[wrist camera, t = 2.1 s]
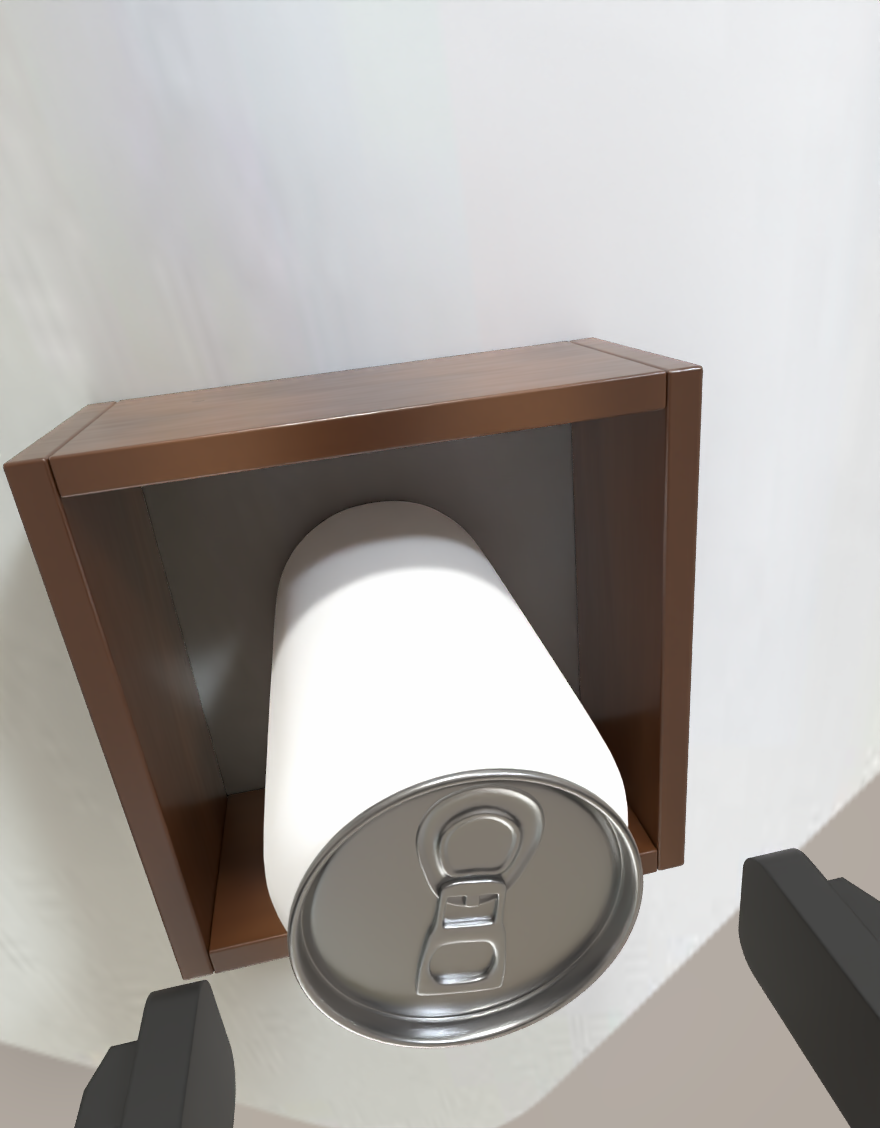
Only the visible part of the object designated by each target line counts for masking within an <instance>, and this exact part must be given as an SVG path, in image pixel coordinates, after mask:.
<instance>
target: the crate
mask: <svg viewBox="0 0 880 1128" xmlns="http://www.w3.org/2000/svg"><path fill="white" fill-rule="evenodd" d="M702 378H703V369H702V366H700V365H696V364H692V363H688V362H685V361H681V360H677V359H673V358H669V357H665V356H662V355H658V354H654V353H650V352H646V351H642V350H639V349H635V348H631V347H627V346H623V345H619V344H616V343H612V342H608V341H604V340H600V339H597V338H587V339H579V340H572V341H570V342H567V341H563V342H556V343H548V344H541V345H533V346H526V347H518V348H510V349H503V350H495V351H488V352H480V353H473V354H465V355H458V356H450V357H443V358H435V359H428V360H420V361H413V362H405V363H398V364H390V365H383V366H375V367H368V368H360V369H352V370H345V371H337V372H330V373H322V374H315V375H307V376H300V377H292V378H285V379H277V380H270V381H262V382H255V383H247V384H240V385H232V386H225V387H217V388H210V389H202V390H194V391H187V392H179V393H172V394H164V395H157V396H149V397H142V398H134V399H127V400H120V401H119V402H115V401H112V402H105V403H97V404H90V405H87V406H85V407H84V408H83V409H81V410H80V411H78V412H77V413H75V414H74V415H73V416H71V417H70V418H68V419H67V420H66V421H64V422H63V423H61V424H60V425H58V426H57V427H56V428H54V429H53V430H51V431H50V432H49V433H47V434H46V435H44V436H43V437H41V438H40V439H39V440H37V441H36V442H34V443H33V444H32V445H30V446H29V447H27V448H26V449H24V450H23V451H22V452H20V453H19V454H17V455H16V456H15V457H13V458H12V459H10V460H9V461H7V462H6V463H5V464H4V465H3V469H4V471H5V474H6V477H7V480H8V483H9V486H10V489H11V491H12V494H13V497H14V500H15V503H16V506H17V508H18V511H19V514H20V517H21V520H22V523H23V525H24V528H25V531H26V534H27V537H28V540H29V543H30V545H31V548H32V551H33V554H34V557H35V560H36V562H37V565H38V568H39V571H40V574H41V577H42V580H43V582H44V585H45V588H46V591H47V594H48V597H49V599H50V602H51V605H52V608H53V611H54V614H55V617H56V619H57V622H58V625H59V628H60V631H61V634H62V636H63V639H64V642H65V645H66V648H67V651H68V654H69V656H70V659H71V662H72V665H73V668H74V671H75V673H76V676H77V679H78V682H79V685H80V688H81V691H82V693H83V696H84V699H85V702H86V705H87V708H88V710H89V713H90V716H91V719H92V722H93V725H94V727H95V730H96V733H97V736H98V739H99V742H100V745H101V747H102V750H103V753H104V756H105V759H106V762H107V764H108V767H109V770H110V773H111V776H112V779H113V782H114V784H115V787H116V790H117V793H118V796H119V799H120V801H121V804H122V807H123V810H124V813H125V816H126V819H127V821H128V824H129V827H130V830H131V833H132V836H133V838H134V841H135V844H136V847H137V850H138V853H139V856H140V858H141V861H142V864H143V867H144V870H145V873H146V875H147V878H148V881H149V884H150V887H151V890H152V893H153V895H154V898H155V901H156V904H157V907H158V910H159V912H160V915H161V918H162V921H163V924H164V927H165V929H166V932H167V935H168V938H169V941H170V944H171V947H172V949H173V952H174V955H175V958H176V961H177V964H178V966H179V969H180V972H181V975H182V978H183V980H189V979H193V978H198V977H202V976H206V975H211V974H213V972H214V971H215V973H221V972H225V971H229V970H234V969H238V968H242V967H247V966H251V965H255V964H260V963H264V962H268V961H273V960H277V959H281V958H286V957H289V952H288V943H287V931H286V929H285V928H284V926H283V924H282V922H281V921H280V919H279V917H278V915H277V912H276V910H275V908H274V906H273V903H272V900H271V898H270V895H269V891H268V887H267V882H266V876H265V866H264V810H265V788H263V789H258V790H253V791H248V792H243V793H238V794H233V795H229V796H228V798H227V795H226V791H225V787H224V784H223V780H222V777H221V773H220V769H219V766H218V762H217V759H216V755H215V751H214V748H213V744H212V741H211V737H210V733H209V730H208V726H207V722H206V719H205V715H204V712H203V708H202V704H201V701H200V697H199V694H198V690H197V686H196V683H195V679H194V676H193V672H192V668H191V665H190V661H189V658H188V654H187V650H186V647H185V643H184V639H183V636H182V632H181V629H180V625H179V621H178V618H177V614H176V611H175V607H174V603H173V600H172V596H171V593H170V589H169V585H168V582H167V578H166V575H165V571H164V567H163V564H162V560H161V557H160V553H159V549H158V546H157V542H156V538H155V535H154V531H153V528H152V524H151V520H150V517H149V513H148V510H147V506H146V502H145V499H144V495H143V492H142V488H141V487H142V486H148V485H155V484H162V483H169V482H175V481H182V480H189V479H196V478H203V477H209V476H216V475H223V474H230V473H236V472H243V471H250V470H257V469H264V468H270V467H277V466H284V465H291V464H297V463H304V462H311V461H318V460H324V459H331V458H338V457H345V456H352V455H358V454H365V453H372V452H379V451H385V450H392V449H399V448H406V447H412V446H419V445H426V444H433V443H440V442H446V441H453V440H460V439H467V438H473V437H480V436H487V435H494V434H501V433H507V432H514V431H521V430H528V429H534V428H541V427H548V426H555V425H561V424H568V423H571V428H572V459H573V490H574V521H575V552H576V583H577V614H578V645H579V676H580V703H581V704H582V706H583V708H584V709H585V711H586V712H587V714H588V716H589V717H590V719H591V720H592V722H593V723H594V725H595V727H596V728H597V730H598V732H599V734H600V735H601V737H602V739H603V740H604V742H605V744H606V746H607V747H608V749H609V751H610V753H611V755H612V757H613V759H614V761H615V763H616V766H617V768H618V770H619V772H620V775H621V778H622V781H623V785H624V789H625V794H626V801H627V810H628V829H629V830H630V832H631V834H632V836H633V838H634V840H635V842H636V845H637V847H638V850H639V854H640V858H641V862H642V869H643V875H644V874H649V873H653V872H656V871H657V869H658V870H664V869H668V868H673V867H677V866H681V865H683V864H684V847H685V821H686V795H687V769H688V743H689V717H690V691H691V665H692V639H693V613H694V587H695V561H696V535H697V508H698V482H699V456H700V430H701V404H702Z"/></svg>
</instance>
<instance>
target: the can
mask: <svg viewBox="0 0 880 1128" xmlns="http://www.w3.org/2000/svg"><path fill="white" fill-rule="evenodd" d="M264 866H265V876H266V882H267V887H268V891H269V895H270V898H271V900H272V903H273V906H274V908H275V910H276V912H277V915H278V917H279V919H280V921H281V922H282V924H283V926H284V928H285V929H286V931H287V943H288V952H289V958H290V962H291V966H292V969H293V972H294V974H295V977H296V979H297V981H298V983H299V985H300V987H301V988H302V990H303V991H304V993H305V994H306V996H307V997H308V998H309V1000H310V1001H311V1002H312V1003H313V1004H314V1005H315V1006H316V1007H317V1008H318V1009H319V1010H320V1011H321V1012H322V1013H323V1014H324V1015H325V1016H327V1017H328V1018H329V1019H331V1020H332V1021H333V1022H335V1023H336V1024H338V1025H340V1026H341V1027H343V1028H345V1029H347V1030H349V1031H351V1032H353V1033H355V1034H357V1035H360V1036H362V1037H365V1038H368V1039H371V1040H374V1041H378V1042H382V1043H386V1044H391V1045H397V1046H404V1047H414V1048H443V1047H454V1046H462V1045H468V1044H473V1043H478V1042H483V1041H487V1040H491V1039H494V1038H498V1037H501V1036H504V1035H507V1034H510V1033H512V1032H515V1031H518V1030H520V1029H523V1028H525V1027H527V1026H529V1025H532V1024H534V1023H536V1022H538V1021H540V1020H542V1019H544V1018H546V1017H547V1016H549V1015H551V1014H553V1013H554V1012H556V1011H558V1010H559V1009H561V1008H562V1007H564V1006H565V1005H567V1004H568V1003H570V1002H571V1001H572V1000H574V999H575V998H576V997H578V996H579V995H580V994H581V993H583V992H584V991H585V990H586V989H587V988H588V987H590V986H591V985H592V984H593V983H594V982H595V981H596V980H597V979H598V978H599V977H600V976H601V975H602V974H603V973H604V971H605V970H606V969H607V968H608V967H609V966H610V964H611V963H612V962H613V961H614V959H615V958H616V957H617V955H618V954H619V952H620V951H621V949H622V948H623V946H624V944H625V943H626V941H627V939H628V937H629V935H630V933H631V931H632V929H633V926H634V924H635V922H636V919H637V916H638V912H639V909H640V905H641V899H642V892H643V869H642V862H641V858H640V854H639V850H638V847H637V845H636V842H635V840H634V838H633V836H632V834H631V832H630V830H629V829H628V810H627V801H626V794H625V789H624V785H623V781H622V778H621V775H620V772H619V770H618V768H617V766H616V763H615V761H614V759H613V757H612V755H611V753H610V751H609V749H608V747H607V746H606V744H605V742H604V740H603V739H602V737H601V735H600V734H599V732H598V730H597V728H596V727H595V725H594V723H593V722H592V720H591V719H590V717H589V716H588V714H587V712H586V711H585V709H584V708H583V706H582V704H581V703H580V701H579V700H578V698H577V696H576V695H575V693H574V692H573V690H572V689H571V687H570V685H569V684H568V682H567V681H566V679H565V678H564V676H563V675H562V673H561V671H560V670H559V668H558V667H557V665H556V664H555V662H554V660H553V659H552V657H551V656H550V654H549V653H548V651H547V650H546V648H545V646H544V645H543V643H542V642H541V640H540V639H539V637H538V636H537V634H536V633H535V631H534V629H533V628H532V626H531V625H530V623H529V622H528V620H527V619H526V617H525V616H524V614H523V612H522V611H521V609H520V608H519V606H518V605H517V603H516V602H515V600H514V599H513V597H512V596H511V594H510V592H509V591H508V589H507V588H506V586H505V585H504V583H503V582H502V580H501V579H500V577H499V576H498V574H497V573H496V571H495V570H494V568H493V567H492V565H491V564H490V562H489V561H488V559H487V558H486V556H485V555H484V553H483V552H482V550H481V549H480V548H479V546H478V545H477V543H476V542H475V541H474V540H473V538H472V537H471V536H470V535H469V534H468V533H467V532H466V531H465V530H464V529H463V528H462V527H461V526H460V525H459V524H457V523H456V522H455V521H453V520H452V519H451V518H449V517H447V516H446V515H444V514H442V513H440V512H439V511H437V510H435V509H433V508H430V507H428V506H425V505H422V504H418V503H412V502H404V501H385V502H376V503H369V504H364V505H360V506H356V507H352V508H349V509H346V510H344V511H341V512H339V513H337V514H335V515H333V516H331V517H330V518H328V519H326V520H325V521H323V522H322V523H320V524H319V525H318V526H316V527H315V528H314V529H313V530H312V531H311V532H310V533H308V534H307V535H306V536H305V537H304V539H303V540H302V541H301V542H300V543H299V544H298V546H297V547H296V548H295V550H294V551H293V553H292V554H291V556H290V558H289V560H288V561H287V563H286V566H285V568H284V570H283V573H282V576H281V579H280V583H279V587H278V592H277V600H276V610H275V623H274V639H273V655H272V672H271V690H270V708H269V726H268V746H267V766H266V786H265V810H264Z"/></svg>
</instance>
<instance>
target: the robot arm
mask: <svg viewBox="0 0 880 1128" xmlns="http://www.w3.org/2000/svg"><path fill="white" fill-rule="evenodd" d="M739 938H740V943H741V946H742V950H743V953H744V956H745V959H746V961H747V963H748V965H749V967H750V969H751V971H752V973H753V975H754V976H755V978H756V980H757V981H758V983H759V984H760V986H761V987H762V989H763V991H764V992H765V994H766V995H767V997H768V998H769V1000H770V1001H771V1003H772V1005H773V1006H774V1008H775V1009H776V1011H777V1013H778V1014H779V1015H780V1017H781V1019H782V1020H783V1022H784V1023H785V1025H786V1027H787V1028H788V1030H789V1031H790V1033H791V1034H792V1036H793V1038H794V1039H795V1041H796V1042H797V1044H798V1046H799V1047H800V1049H801V1050H802V1052H803V1053H804V1055H805V1056H806V1058H807V1060H808V1061H809V1063H810V1064H811V1066H812V1067H813V1069H814V1071H815V1072H816V1074H817V1075H818V1077H819V1078H820V1080H821V1082H822V1083H823V1085H824V1086H825V1088H826V1090H827V1091H828V1093H829V1094H830V1096H831V1097H832V1099H833V1100H834V1102H835V1104H836V1105H837V1107H838V1108H839V1110H840V1111H841V1113H842V1115H843V1116H844V1118H845V1119H846V1121H847V1122H848V1124H849V1125H850V1127H851V1128H880V901H878V900H877V899H875V898H874V897H872V896H871V895H869V894H868V893H866V892H864V891H863V890H861V889H860V888H858V887H857V886H855V885H854V884H852V883H850V882H849V881H847V880H846V879H844V878H843V877H841V878H837V879H833V880H829V881H827V879H826V878H825V877H824V876H823V875H822V874H821V872H820V871H819V870H818V869H817V868H816V866H815V865H814V864H813V863H812V862H811V861H810V859H809V858H808V857H807V856H806V855H805V854H804V853H803V852H801V851H800V850H798V849H795V848H791V849H787V850H782V851H778V852H774V853H769V854H765V855H761V856H756V857H752V858H748V859H746V861H745V862H744V865H743V875H742V888H741V901H740V914H739ZM235 1091H236V1088H235V1068H234V1060H233V1054H232V1050H231V1046H230V1043H229V1040H228V1037H227V1034H226V1031H225V1028H224V1025H223V1022H222V1019H221V1016H220V1013H219V1010H218V1007H217V1004H216V1001H215V998H214V995H213V992H212V989H211V986H210V984H209V982H208V981H207V980H202V981H198V982H193V983H189V984H185V985H180V986H176V987H171V988H167V989H163V990H158V991H154V992H151V993H150V995H149V996H148V998H147V1001H146V1004H145V1008H144V1012H143V1017H142V1022H141V1027H140V1031H139V1036H138V1040H137V1041H133V1042H129V1043H124V1044H120V1045H116V1046H112V1047H110V1049H109V1050H108V1052H107V1054H106V1055H105V1057H104V1059H103V1060H102V1062H101V1064H100V1065H99V1067H98V1068H97V1070H96V1072H95V1073H94V1075H93V1077H92V1079H91V1080H90V1082H89V1083H88V1085H87V1087H86V1088H85V1090H84V1093H83V1097H82V1101H81V1104H80V1108H79V1112H78V1116H77V1120H76V1124H75V1127H74V1128H233V1122H234V1110H235Z"/></svg>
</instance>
